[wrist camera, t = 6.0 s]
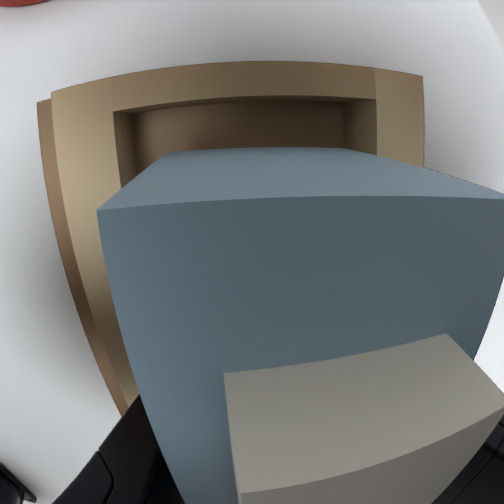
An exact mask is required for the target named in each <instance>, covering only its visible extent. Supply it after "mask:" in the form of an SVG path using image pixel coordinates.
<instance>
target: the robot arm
mask: <svg viewBox="0 0 504 504" xmlns="http://www.w3.org/2000/svg"><path fill="white" fill-rule="evenodd" d="M98 450H99V451H96V452H95V454H94V455H93V456H92V458H91V459H90V460H89V462H88V463H87V464H86V466H85V467H84V468H83V469H82V471H81V472H80V473H79V474H78V476H77V477H76V478H75V479H74V480H73V482H72V483H71V484H70V485H69V486H68V487H67V488H66V489H65V490H64V491H63V493H62V494H61V495H60V496H59V497H58V498H57V499H56V500H55V501H54V502H53V503H52V504H185V502H184V500H183V498H182V496H181V494H180V492H179V490H178V488H177V486H176V484H175V481H174V479H173V477H172V475H171V473H170V470H169V468H168V466H167V464H166V461H165V459H164V457H163V454H162V452H161V449H160V447H159V445H158V442H157V440H156V437H155V434H154V432H153V429H152V427H151V424H150V421H149V419H148V416H147V413H146V411H145V408H144V405H143V402H142V399H141V396H140V393H139V395H138V396H137V397H136V399H135V400H134V401H133V403H132V404H131V405H130V407H129V408H128V409H127V411H126V412H125V413H124V415H123V416H122V417H121V419H120V420H119V422H118V423H117V424H116V426H115V427H114V428H113V430H112V431H111V432H110V434H109V435H108V436H107V438H106V439H105V440H104V442H103V443H102V444H101V446H100V447H99V449H98ZM23 500H26V501H30V502H33V503H36V500H37V499H36V498H35V497H34V496H33V495H32V494H31V493H30V492H29V491H27V490H26V489H25V488H24V487H23V486H22V485H21V484H20V483H19V482H18V481H17V480H16V479H15V478H14V477H13V476H12V475H11V474H10V473H9V472H8V471H7V470H6V469H5V468H4V467H3V466H2V465H0V504H23ZM431 504H504V415H503V416H502V418H501V419H500V421H499V422H498V424H497V425H496V427H495V428H494V429H493V431H492V432H491V434H490V435H489V436H488V438H487V439H486V441H485V442H484V443H483V445H482V446H481V447H480V449H479V450H478V451H477V452H476V454H475V455H474V456H473V457H472V459H471V460H470V461H469V462H468V464H467V465H466V466H465V467H464V468H463V470H462V471H461V472H460V473H459V474H458V475H457V477H456V478H455V479H454V480H453V481H452V482H451V483H450V484H449V486H448V487H447V488H446V489H445V490H444V491H443V492H442V493H441V494H440V495H439V496H438V497H437V498H436V499H435V500H434V501H433V502H432V503H431Z"/></svg>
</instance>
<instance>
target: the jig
mask: <svg viewBox="0 0 504 504" xmlns="http://www.w3.org/2000/svg"><path fill="white" fill-rule="evenodd" d="M37 116H38V128H39V139H40V148H41V156H42V163H43V171H44V177H45V183H46V189H47V195H48V200H49V206H50V211H51V216H52V220H53V225H54V229H55V234H56V238H57V242H58V246H59V250H60V254H61V258H62V262H63V265H64V269H65V272H66V276H67V279H68V283H69V286H70V289H71V293H72V296H73V299H74V302H75V305H76V308H77V311H78V314H79V317H80V320H81V323H82V325H83V328H84V331H85V334H86V336H87V339H88V342H89V344H90V347H91V349H92V352H93V354H94V357H95V359H96V362H97V364H98V366H99V369H100V371H101V373H102V376H103V378H104V380H105V383H106V385H107V387H108V389H109V391H110V394H111V396H112V398H113V400H114V402H115V404H116V406H117V408H118V410H119V412H120V414H121V416H123V415H124V413H125V412H126V411H127V409H128V408H129V407H130V405H131V404H132V403H133V401H134V400H135V399H136V397H137V396H138V395H139V390H138V388H137V384H136V381H135V378H134V375H133V372H132V369H131V366H130V362H129V359H128V356H127V352H126V349H125V345H124V342H123V338H122V334H121V331H120V327H119V323H118V319H117V315H116V311H115V307H114V303H113V299H112V294H111V290H110V285H109V281H108V276H107V271H106V266H105V261H104V256H103V250H102V245H101V239H100V233H99V227H98V220H97V213H96V210H97V209H98V208H99V207H100V206H102V205H103V204H104V203H105V202H106V201H107V200H109V199H110V198H111V197H112V196H113V195H114V194H116V193H117V192H118V191H119V190H120V189H122V188H123V187H124V186H125V185H126V184H128V183H129V182H130V181H131V180H133V179H134V178H135V177H136V176H138V175H139V174H140V173H141V172H143V171H144V170H145V169H146V168H148V167H149V166H150V165H152V164H153V163H154V162H155V161H157V160H158V159H159V158H161V157H162V156H163V155H165V154H166V153H167V152H174V151H187V150H203V149H222V148H252V147H317V148H345V149H350V150H354V151H359V152H363V153H368V154H372V155H376V156H381V157H385V158H389V159H393V160H397V161H400V162H404V163H408V164H412V165H415V166H419V167H423V164H424V92H423V76H419V75H414V74H409V73H403V72H398V71H391V70H385V69H378V68H371V67H363V66H354V65H344V64H332V63H318V62H297V61H242V62H221V63H207V64H195V65H185V66H176V67H168V68H161V69H154V70H147V71H141V72H135V73H129V74H124V75H119V76H114V77H109V78H104V79H100V80H95V81H91V82H87V83H83V84H79V85H75V86H71V87H67V88H64V89H60V90H56V91H53V92H51V99H47V100H44V101H41V102H38V103H37Z"/></svg>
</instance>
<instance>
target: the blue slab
mask: <svg viewBox="0 0 504 504" xmlns="http://www.w3.org/2000/svg"><path fill="white" fill-rule="evenodd" d="M96 213H97V220H98V227H99V233H100V239H101V245H102V250H103V256H104V261H105V266H106V271H107V276H108V281H109V285H110V290H111V294H112V299H113V303H114V307H115V311H116V315H117V319H118V323H119V327H120V331H121V334H122V338H123V342H124V345H125V349H126V352H127V356H128V359H129V362H130V366H131V369H132V372H133V375H134V378H135V381H136V384H137V388H138V390H139V393H140V396H141V399H142V402H143V405H144V408H145V411H146V413H147V416H148V419H149V421H150V424H151V427H152V429H153V432H154V434H155V437H156V440H157V442H158V445H159V447H160V449H161V452H162V454H163V457H164V459H165V461H166V464H167V466H168V468H169V470H170V473H171V475H172V477H173V479H174V481H175V484H176V486H177V488H178V490H179V492H180V494H181V496H182V498H183V500H184V502H185V504H431V503H432V502H433V501H434V500H435V499H436V498H437V497H438V496H439V495H440V494H441V493H442V492H443V491H444V490H445V489H446V488H447V487H448V486H449V484H450V483H451V482H452V481H453V480H454V479H455V478H456V477H457V475H458V474H459V473H460V472H461V471H462V470H463V468H464V467H465V466H466V465H467V464H468V462H469V461H470V460H471V459H472V457H473V456H474V455H475V454H476V452H477V451H478V450H479V449H480V447H481V446H482V445H483V443H484V442H485V441H486V439H487V438H488V436H489V435H490V434H491V432H492V431H493V429H494V428H495V427H496V425H497V424H498V422H499V421H500V419H501V418H502V416H503V415H504V393H503V392H502V391H501V390H500V389H499V388H498V387H497V386H496V384H495V383H494V382H493V381H492V380H491V379H490V378H489V377H488V376H487V375H486V374H485V373H484V371H483V370H482V369H481V368H480V367H479V366H478V365H477V364H476V363H475V362H474V358H475V356H476V354H477V351H478V349H479V346H480V344H481V342H482V339H483V337H484V334H485V331H486V329H487V326H488V323H489V321H490V318H491V315H492V312H493V309H494V306H495V303H496V300H497V297H498V294H499V291H500V288H501V284H502V281H503V277H504V194H502V193H500V192H497V191H494V190H491V189H489V188H486V187H483V186H480V185H477V184H474V183H471V182H468V181H465V180H462V179H459V178H456V177H453V176H450V175H446V174H443V173H440V172H436V171H433V170H430V169H426V168H423V167H419V166H415V165H412V164H408V163H404V162H400V161H397V160H393V159H389V158H385V157H381V156H376V155H372V154H368V153H363V152H359V151H354V150H350V149H345V148H317V147H252V148H222V149H203V150H187V151H174V152H167V153H166V154H165V155H163V156H162V157H161V158H159V159H158V160H157V161H155V162H154V163H153V164H152V165H150V166H149V167H148V168H146V169H145V170H144V171H143V172H141V173H140V174H139V175H138V176H136V177H135V178H134V179H133V180H131V181H130V182H129V183H128V184H126V185H125V186H124V187H123V188H122V189H120V190H119V191H118V192H117V193H116V194H114V195H113V196H112V197H111V198H110V199H109V200H107V201H106V202H105V203H104V204H103V205H102V206H100V207H99V208H98V209H97V210H96Z"/></svg>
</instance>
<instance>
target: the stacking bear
mask: <svg viewBox="0 0 504 504" xmlns="http://www.w3.org/2000/svg"><path fill="white" fill-rule="evenodd" d="M41 1H44V0H0V6H5V7H13V6H22V5H28V4H33V3H38V2H41Z"/></svg>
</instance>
